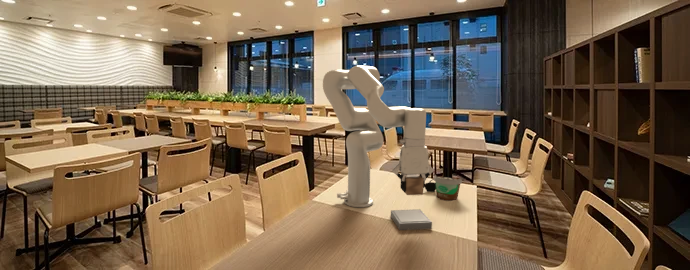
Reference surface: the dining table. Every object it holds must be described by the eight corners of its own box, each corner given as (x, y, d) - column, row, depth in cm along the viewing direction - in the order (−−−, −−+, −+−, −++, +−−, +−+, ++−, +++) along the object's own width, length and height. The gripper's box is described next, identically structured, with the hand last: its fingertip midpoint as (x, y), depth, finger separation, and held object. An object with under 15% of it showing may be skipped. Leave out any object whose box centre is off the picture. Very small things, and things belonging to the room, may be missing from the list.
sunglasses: (408, 191, 159) (409, 181, 158) (406, 183, 175) (406, 174, 174) (437, 193, 158) (438, 182, 157) (432, 184, 173) (432, 175, 173)
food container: (430, 198, 148) (431, 177, 147) (433, 194, 154) (434, 174, 152) (458, 203, 143) (460, 181, 141) (460, 199, 148) (462, 178, 146)
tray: (399, 230, 117) (399, 223, 116) (390, 216, 129) (390, 209, 128) (431, 228, 119) (432, 221, 118) (419, 215, 130) (420, 208, 130)
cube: (407, 195, 118) (407, 179, 117) (402, 189, 124) (402, 174, 123) (422, 194, 119) (423, 178, 118) (417, 189, 125) (417, 173, 124)
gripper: (394, 144, 114) (392, 194, 117) (441, 144, 116) (438, 192, 119) (388, 141, 121) (387, 188, 124) (432, 140, 123) (430, 186, 126)
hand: (412, 189), depth 121 cm, fingers closed on cube, 6 cm apart
